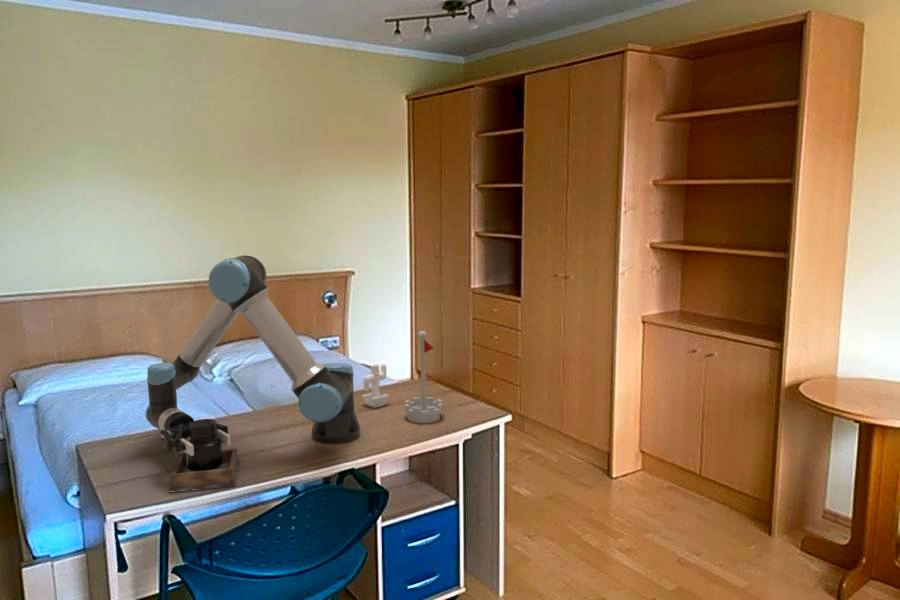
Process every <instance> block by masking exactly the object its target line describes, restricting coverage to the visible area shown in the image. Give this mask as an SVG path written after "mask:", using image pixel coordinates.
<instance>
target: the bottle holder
mask: <svg viewBox="0 0 900 600" xmlns="http://www.w3.org/2000/svg"><path fill="white" fill-rule="evenodd" d="M222 459H223V463H222V465H221V466H219V467H218V468H216V469H213V470H205V471H192V470H189V469H188V467H187V455H186V452H183V453H179V455H178V458H177V460H176V462H175V464H174V467H173V470H172V472H171V474H170V481H171V484H170V487H169V492H170V491H180V490H192V489H205V490H211V489H212V488H215V489H221V488H222V489H224V488H232V487H233V488H234V487H236V485H237V480H238V476H237V475H238V474H239V469H240V465H239V464H240V463H241V461H240V460H241V459H240V458H239V459H238V449H237V448H229V449H228V448H227V449H225V448H224V449H222ZM209 488H210V489H209ZM212 490H213V489H212Z"/></svg>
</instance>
